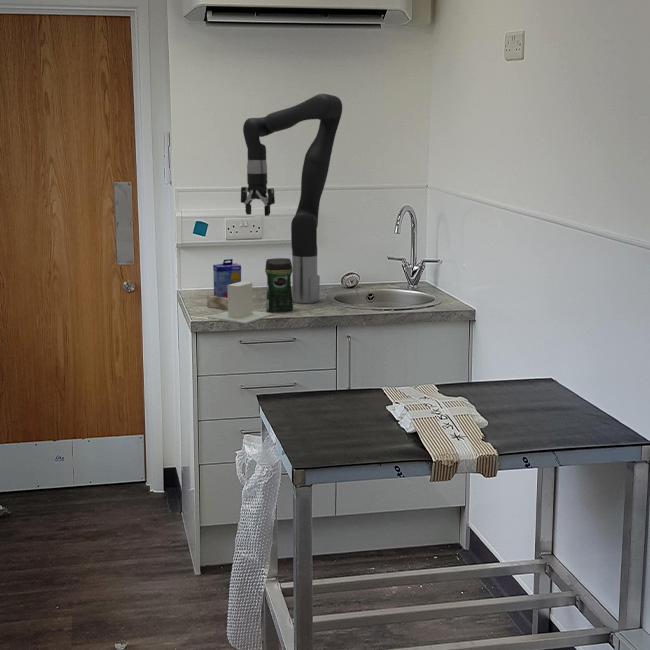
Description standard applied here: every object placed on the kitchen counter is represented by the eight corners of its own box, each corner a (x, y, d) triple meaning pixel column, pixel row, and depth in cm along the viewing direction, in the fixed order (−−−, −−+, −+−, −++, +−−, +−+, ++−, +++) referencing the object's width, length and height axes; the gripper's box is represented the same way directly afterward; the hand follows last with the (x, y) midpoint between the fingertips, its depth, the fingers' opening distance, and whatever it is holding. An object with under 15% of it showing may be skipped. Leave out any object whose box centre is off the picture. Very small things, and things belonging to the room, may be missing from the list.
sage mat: (273, 315, 328) (273, 313, 328) (245, 324, 315) (245, 322, 315) (236, 309, 336) (236, 308, 336) (207, 318, 323) (207, 316, 323)
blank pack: (252, 313, 328) (252, 282, 325) (238, 318, 321) (238, 286, 319) (242, 312, 330) (241, 281, 328) (228, 316, 323) (227, 285, 321)
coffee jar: (291, 307, 341) (291, 256, 337) (294, 312, 333) (293, 259, 329) (264, 308, 339) (264, 256, 335) (266, 312, 332) (266, 260, 328)
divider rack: (251, 303, 347) (251, 293, 346) (229, 310, 336) (229, 299, 335) (229, 300, 352) (229, 290, 351) (207, 306, 341) (207, 296, 341)
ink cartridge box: (217, 298, 356) (216, 260, 353) (212, 296, 361) (211, 258, 358) (242, 296, 360) (241, 258, 357) (237, 294, 365) (236, 256, 362)
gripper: (278, 172, 356) (278, 215, 360) (247, 170, 364) (248, 213, 367) (266, 173, 350) (267, 217, 354) (236, 171, 358) (236, 214, 361)
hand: (257, 215), depth 361 cm, fingers open, 8 cm apart
